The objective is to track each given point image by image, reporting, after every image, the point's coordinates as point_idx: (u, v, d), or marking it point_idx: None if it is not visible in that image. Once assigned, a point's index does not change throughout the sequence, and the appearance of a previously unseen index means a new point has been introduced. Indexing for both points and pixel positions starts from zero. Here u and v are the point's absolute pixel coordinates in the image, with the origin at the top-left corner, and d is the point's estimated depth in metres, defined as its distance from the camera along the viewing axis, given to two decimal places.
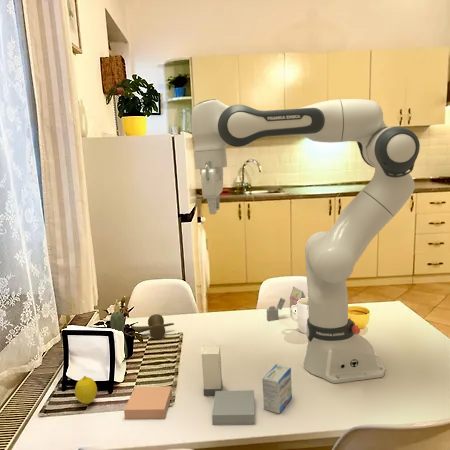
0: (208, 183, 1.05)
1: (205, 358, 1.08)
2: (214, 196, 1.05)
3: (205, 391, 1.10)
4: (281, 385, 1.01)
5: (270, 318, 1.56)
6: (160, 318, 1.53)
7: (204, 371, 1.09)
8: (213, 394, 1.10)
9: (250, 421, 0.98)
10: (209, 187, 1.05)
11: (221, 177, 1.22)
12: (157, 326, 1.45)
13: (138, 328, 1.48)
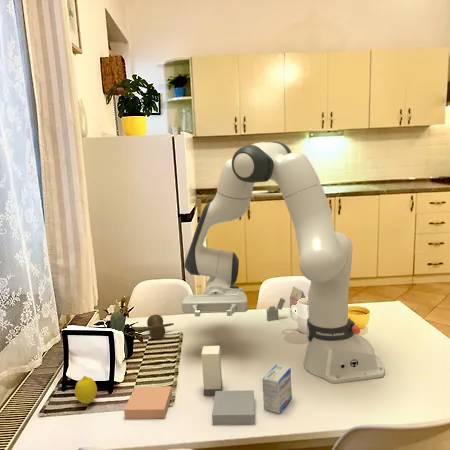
0: None
1: (205, 358, 1.08)
2: (183, 303, 1.27)
3: (205, 391, 1.10)
4: (281, 385, 1.01)
5: (270, 317, 1.56)
6: (159, 318, 1.52)
7: (204, 371, 1.09)
8: (213, 394, 1.10)
9: (250, 421, 0.98)
10: None
11: (240, 295, 1.29)
12: (157, 326, 1.45)
13: (137, 328, 1.47)
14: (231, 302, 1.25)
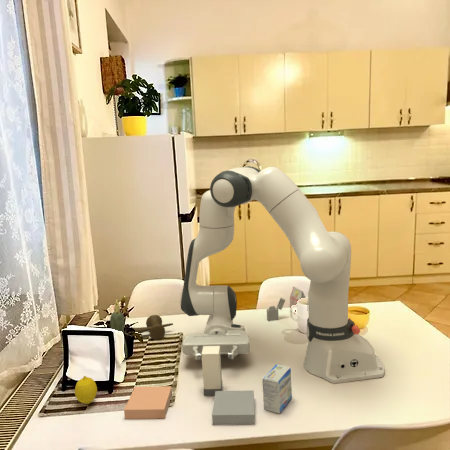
0: None
1: (205, 358, 1.08)
2: (183, 345, 1.23)
3: (205, 391, 1.10)
4: (281, 385, 1.01)
5: (270, 317, 1.56)
6: (158, 319, 1.52)
7: (204, 371, 1.09)
8: (213, 394, 1.10)
9: (250, 421, 0.98)
10: None
11: (242, 335, 1.26)
12: (157, 327, 1.45)
13: (137, 329, 1.47)
14: (233, 344, 1.22)
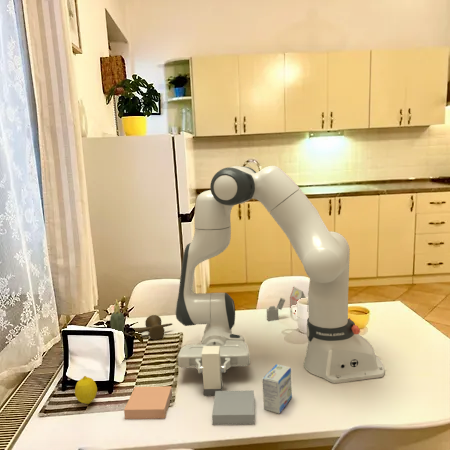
0: None
1: (205, 358, 1.08)
2: (178, 357, 1.16)
3: (205, 391, 1.10)
4: (281, 385, 1.01)
5: (270, 317, 1.56)
6: (158, 319, 1.52)
7: (204, 371, 1.09)
8: (213, 394, 1.10)
9: (250, 421, 0.98)
10: None
11: (241, 347, 1.19)
12: (156, 327, 1.44)
13: (136, 329, 1.46)
14: (231, 356, 1.15)
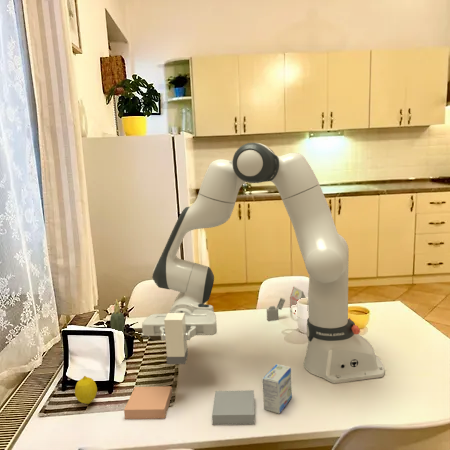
0: None
1: (168, 324, 1.04)
2: (143, 325, 1.12)
3: (168, 359, 1.06)
4: (281, 385, 1.01)
5: (270, 317, 1.56)
6: None
7: (167, 338, 1.05)
8: (176, 362, 1.06)
9: (250, 421, 0.98)
10: None
11: (209, 316, 1.14)
12: None
13: (135, 329, 1.46)
14: (197, 324, 1.10)
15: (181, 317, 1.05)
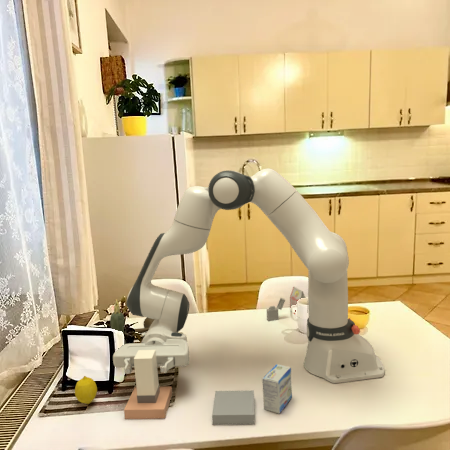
0: None
1: (138, 362, 1.03)
2: (113, 356, 1.10)
3: (139, 398, 1.04)
4: (281, 385, 1.01)
5: (270, 318, 1.56)
6: None
7: (137, 377, 1.03)
8: (147, 401, 1.04)
9: (250, 421, 0.98)
10: None
11: (181, 346, 1.12)
12: None
13: (135, 330, 1.46)
14: (169, 355, 1.08)
15: (151, 355, 1.04)
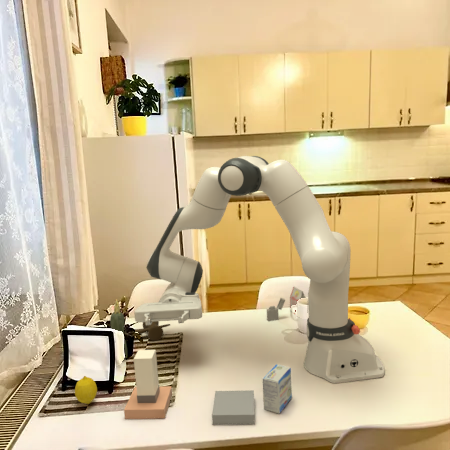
0: None
1: (138, 362, 1.03)
2: (135, 312, 1.23)
3: (139, 398, 1.04)
4: (281, 385, 1.01)
5: (270, 317, 1.56)
6: None
7: (137, 377, 1.03)
8: (147, 401, 1.04)
9: (250, 421, 0.98)
10: None
11: (194, 302, 1.26)
12: (155, 328, 1.44)
13: None
14: (184, 309, 1.22)
15: (151, 355, 1.04)
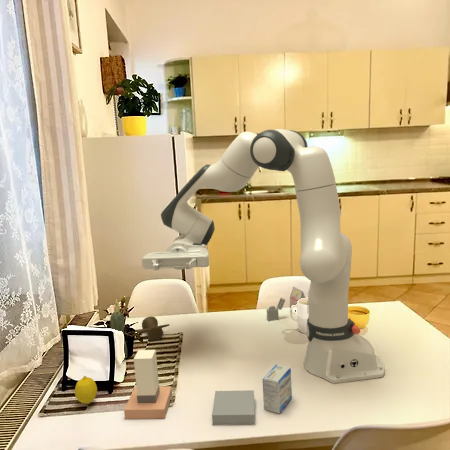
0: None
1: (138, 362, 1.03)
2: (142, 259, 1.24)
3: (139, 398, 1.04)
4: (281, 385, 1.01)
5: (270, 317, 1.56)
6: (154, 320, 1.51)
7: (137, 377, 1.03)
8: (147, 401, 1.04)
9: (250, 421, 0.98)
10: None
11: (202, 251, 1.26)
12: (155, 328, 1.44)
13: None
14: (191, 257, 1.22)
15: (151, 355, 1.04)
